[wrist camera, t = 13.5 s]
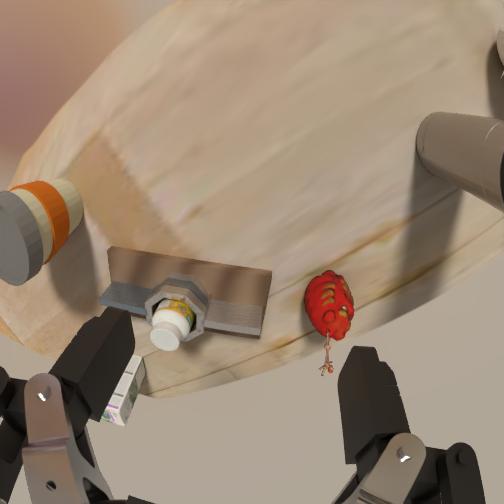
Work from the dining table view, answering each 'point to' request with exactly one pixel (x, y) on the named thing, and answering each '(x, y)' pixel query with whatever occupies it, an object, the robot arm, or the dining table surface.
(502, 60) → the cat head
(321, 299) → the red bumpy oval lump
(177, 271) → the board
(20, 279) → the reusable coffee cup
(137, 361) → the syrup box
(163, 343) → the supplement bottle
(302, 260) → the dining table surface
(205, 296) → the grey winged octagonal holder
